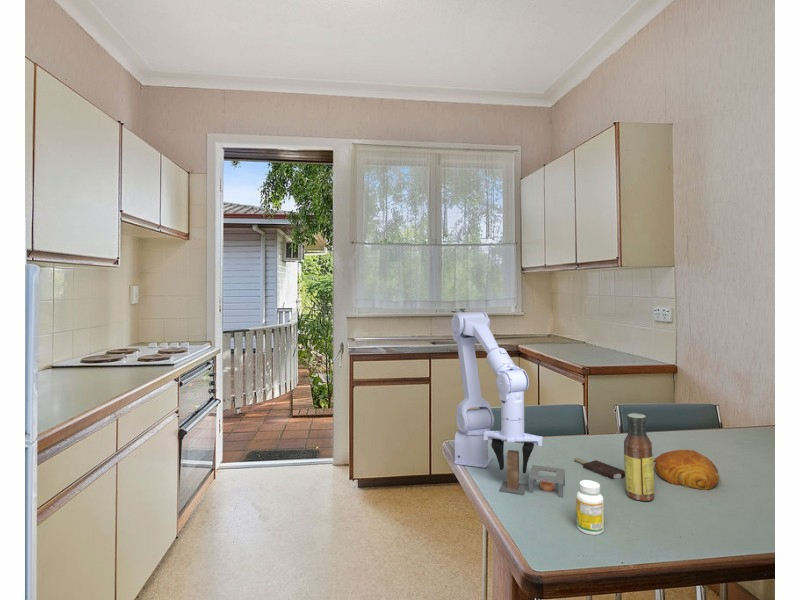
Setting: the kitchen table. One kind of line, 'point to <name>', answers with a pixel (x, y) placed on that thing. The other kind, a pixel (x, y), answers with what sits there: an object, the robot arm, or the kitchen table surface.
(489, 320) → the robot arm
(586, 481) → the supplement bottle
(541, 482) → the button
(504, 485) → the pad
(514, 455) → the stylus stick
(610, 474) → the ice cream bar
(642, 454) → the sauce bottle
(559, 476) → the guard frame
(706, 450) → the kitchen table surface
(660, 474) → the croissant
